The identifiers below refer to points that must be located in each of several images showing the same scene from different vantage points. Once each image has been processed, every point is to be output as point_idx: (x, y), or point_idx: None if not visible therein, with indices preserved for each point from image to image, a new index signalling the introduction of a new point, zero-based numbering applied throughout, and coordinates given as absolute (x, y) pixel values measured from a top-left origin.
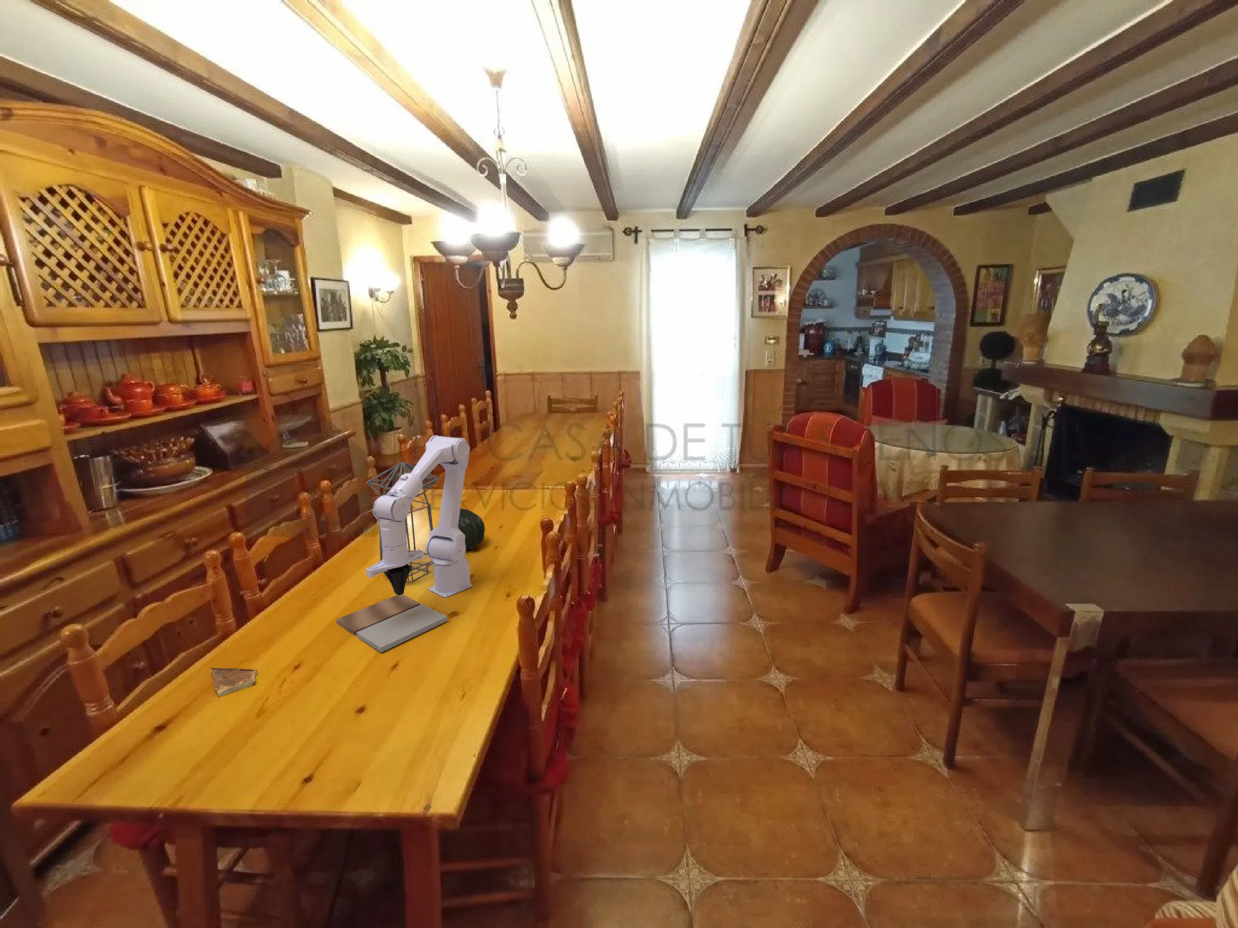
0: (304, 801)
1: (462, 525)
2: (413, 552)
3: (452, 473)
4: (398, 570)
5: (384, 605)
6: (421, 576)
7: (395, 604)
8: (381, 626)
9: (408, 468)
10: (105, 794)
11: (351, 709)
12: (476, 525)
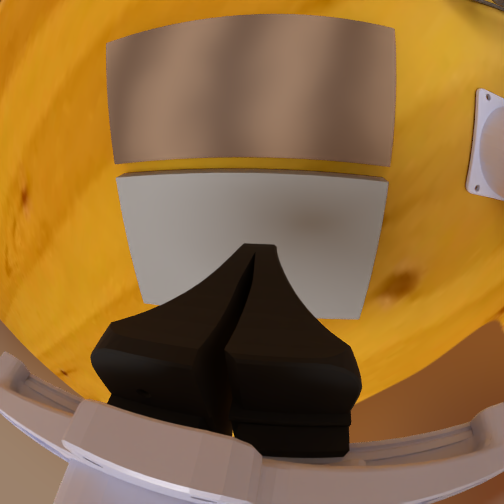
0: (65, 381)
1: None
2: (476, 471)
3: None
4: (222, 433)
5: (283, 55)
6: (498, 8)
7: (321, 85)
8: (186, 205)
9: None
10: None
11: (91, 351)
12: None
